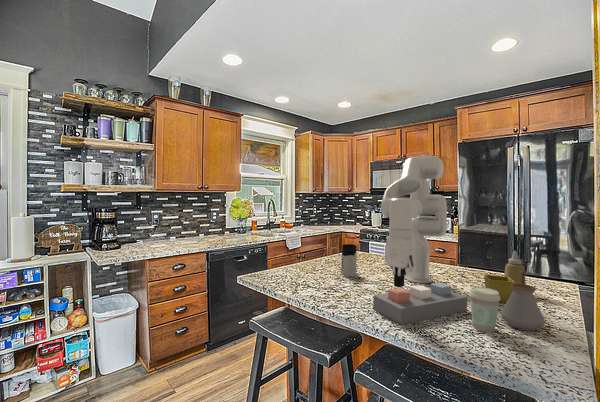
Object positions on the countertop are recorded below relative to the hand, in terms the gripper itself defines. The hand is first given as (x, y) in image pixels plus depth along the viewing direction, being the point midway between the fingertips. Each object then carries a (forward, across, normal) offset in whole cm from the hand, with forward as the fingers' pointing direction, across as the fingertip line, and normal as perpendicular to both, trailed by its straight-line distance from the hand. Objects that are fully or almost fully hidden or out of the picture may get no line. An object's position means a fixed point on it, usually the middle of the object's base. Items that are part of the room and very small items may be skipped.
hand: (399, 286), depth 104 cm
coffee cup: (+10, +19, +17) cm, 27 cm away
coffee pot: (+10, +20, +35) cm, 42 cm away
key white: (+7, 0, +10) cm, 12 cm away
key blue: (+7, 0, +20) cm, 21 cm away
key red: (+7, 0, 0) cm, 7 cm away
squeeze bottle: (+9, 0, +65) cm, 66 cm away
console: (+10, 0, +10) cm, 14 cm away
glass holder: (+10, -53, +11) cm, 55 cm away
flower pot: (+10, +4, +48) cm, 49 cm away
